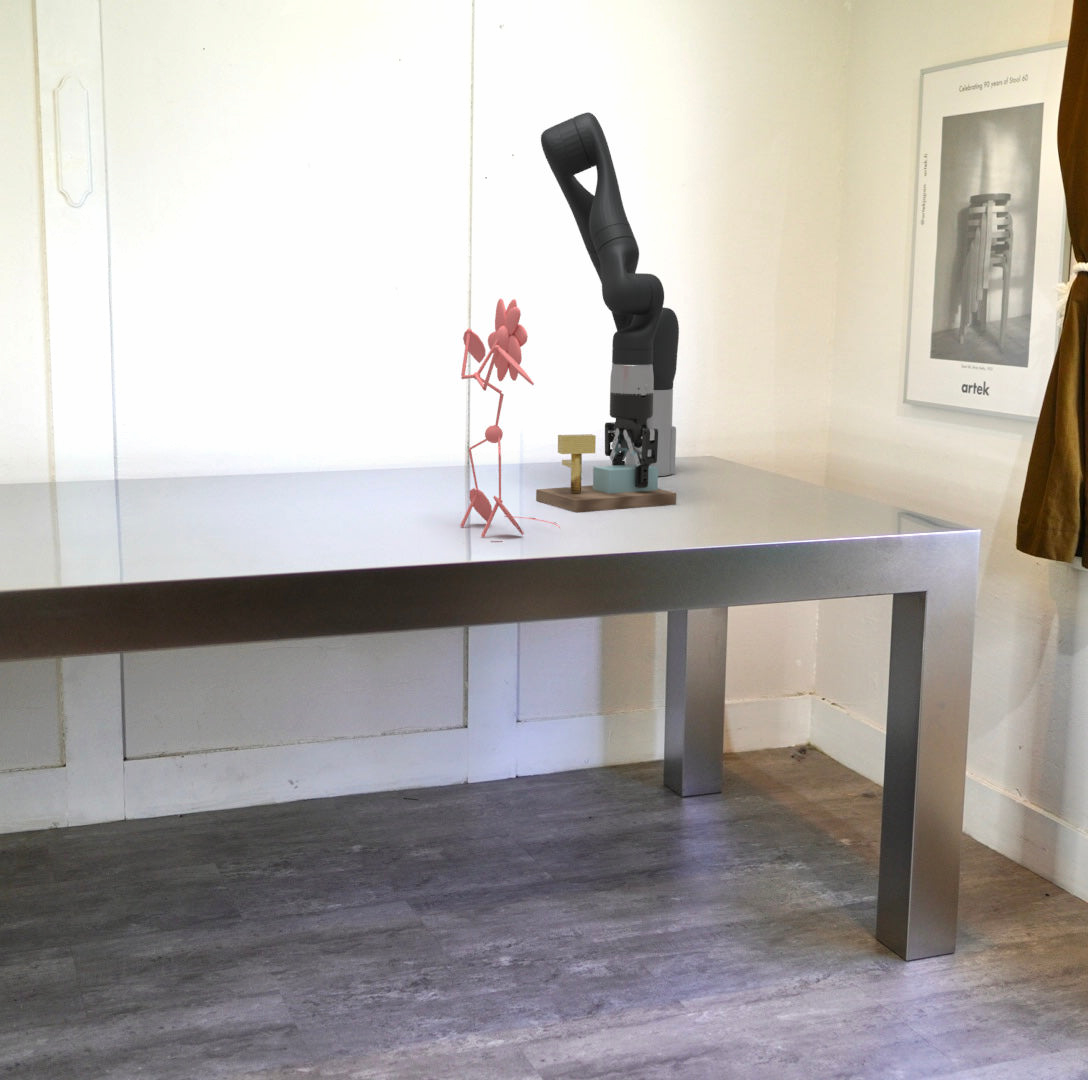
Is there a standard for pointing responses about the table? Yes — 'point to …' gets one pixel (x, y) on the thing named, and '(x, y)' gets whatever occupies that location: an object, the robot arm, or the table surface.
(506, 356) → the pink stick flower
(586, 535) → the table surface
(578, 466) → the t key
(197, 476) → the table surface
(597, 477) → the cover
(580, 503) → the base
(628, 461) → the robot arm
